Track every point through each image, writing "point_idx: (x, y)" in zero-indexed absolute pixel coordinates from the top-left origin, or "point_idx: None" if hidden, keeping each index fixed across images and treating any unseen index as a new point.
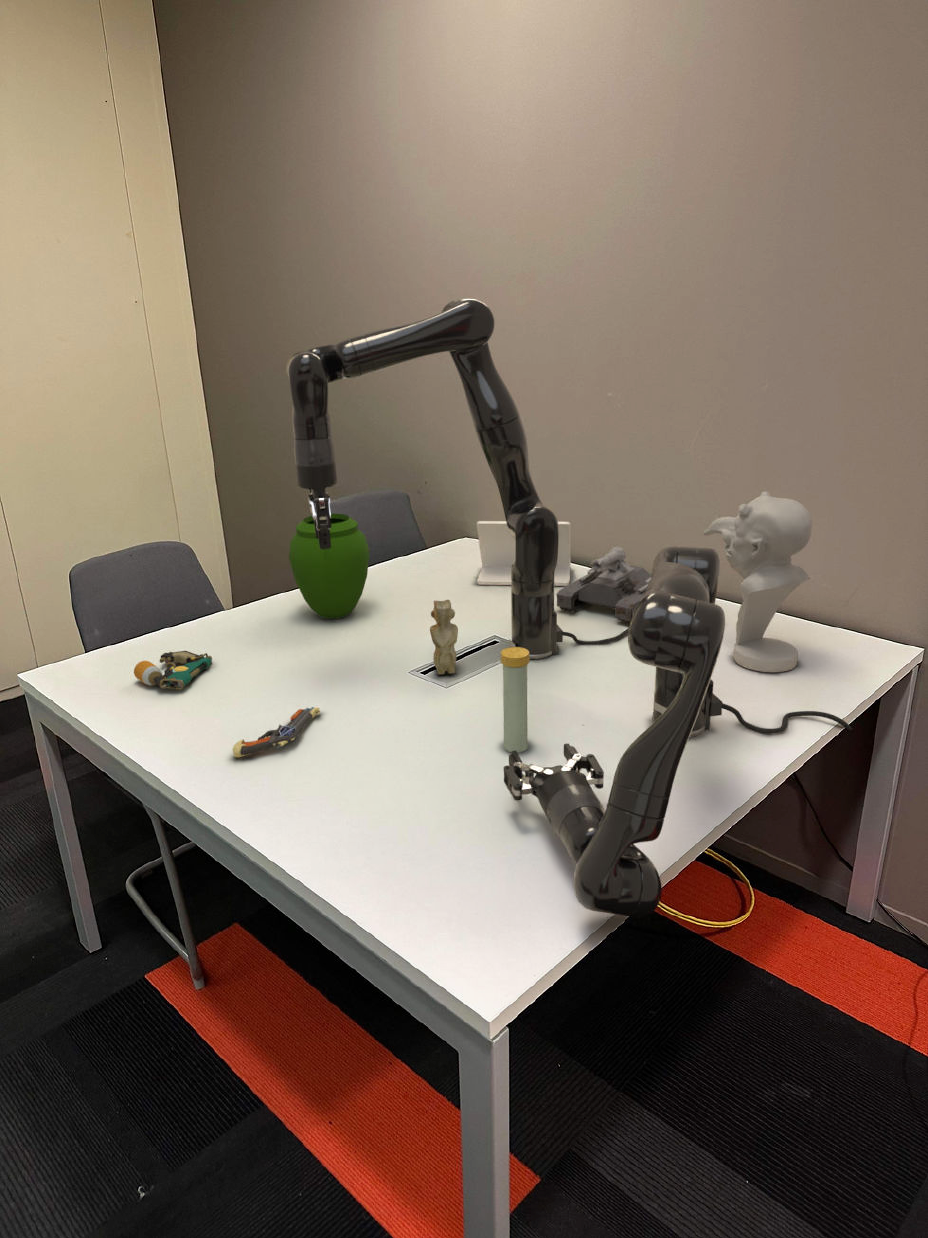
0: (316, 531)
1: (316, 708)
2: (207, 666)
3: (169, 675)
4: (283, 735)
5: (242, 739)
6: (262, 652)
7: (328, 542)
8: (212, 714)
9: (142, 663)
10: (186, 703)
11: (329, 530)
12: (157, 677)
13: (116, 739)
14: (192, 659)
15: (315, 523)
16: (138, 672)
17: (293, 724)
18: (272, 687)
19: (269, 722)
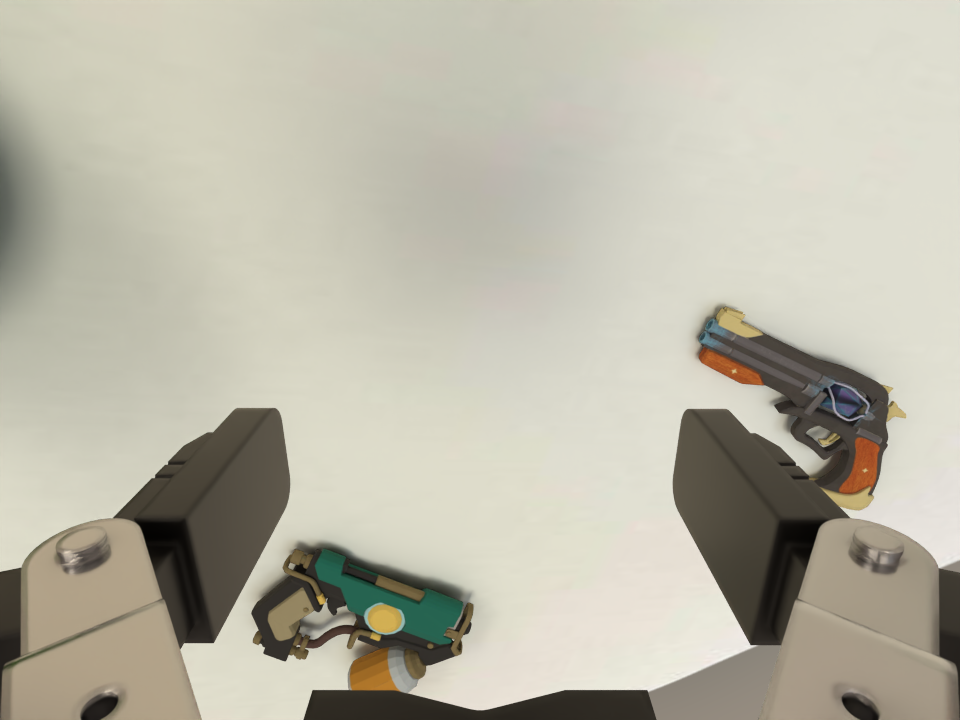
0: (265, 531)
1: (729, 318)
2: (345, 558)
3: (414, 637)
4: (857, 409)
5: None
6: None
7: (790, 462)
8: (603, 535)
9: None
10: (523, 584)
11: (826, 516)
12: (425, 660)
13: (644, 682)
14: (324, 598)
15: (228, 602)
16: None
17: (801, 382)
18: (498, 409)
19: None
